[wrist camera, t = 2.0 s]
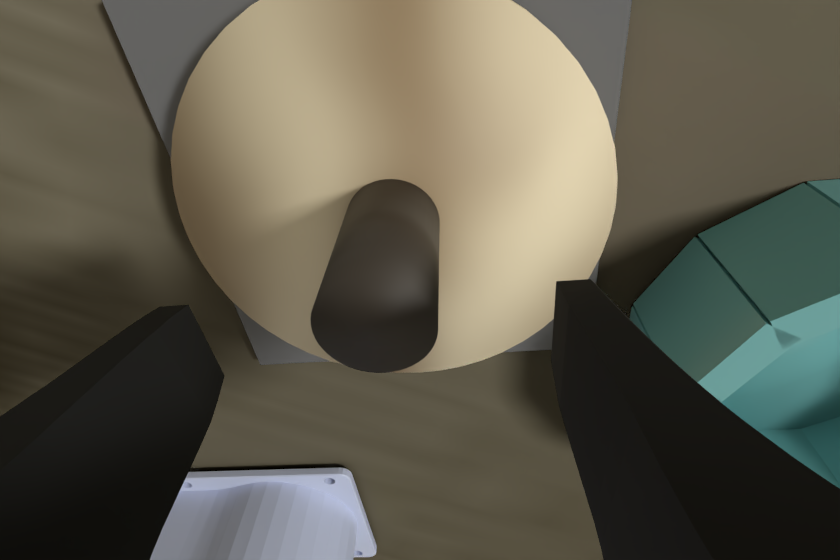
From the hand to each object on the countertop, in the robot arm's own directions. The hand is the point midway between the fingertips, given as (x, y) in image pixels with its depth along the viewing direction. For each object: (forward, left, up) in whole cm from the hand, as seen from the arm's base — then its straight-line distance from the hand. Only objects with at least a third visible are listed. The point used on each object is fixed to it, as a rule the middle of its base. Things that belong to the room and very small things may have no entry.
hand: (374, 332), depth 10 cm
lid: (0, 0, -5) cm, 5 cm away
